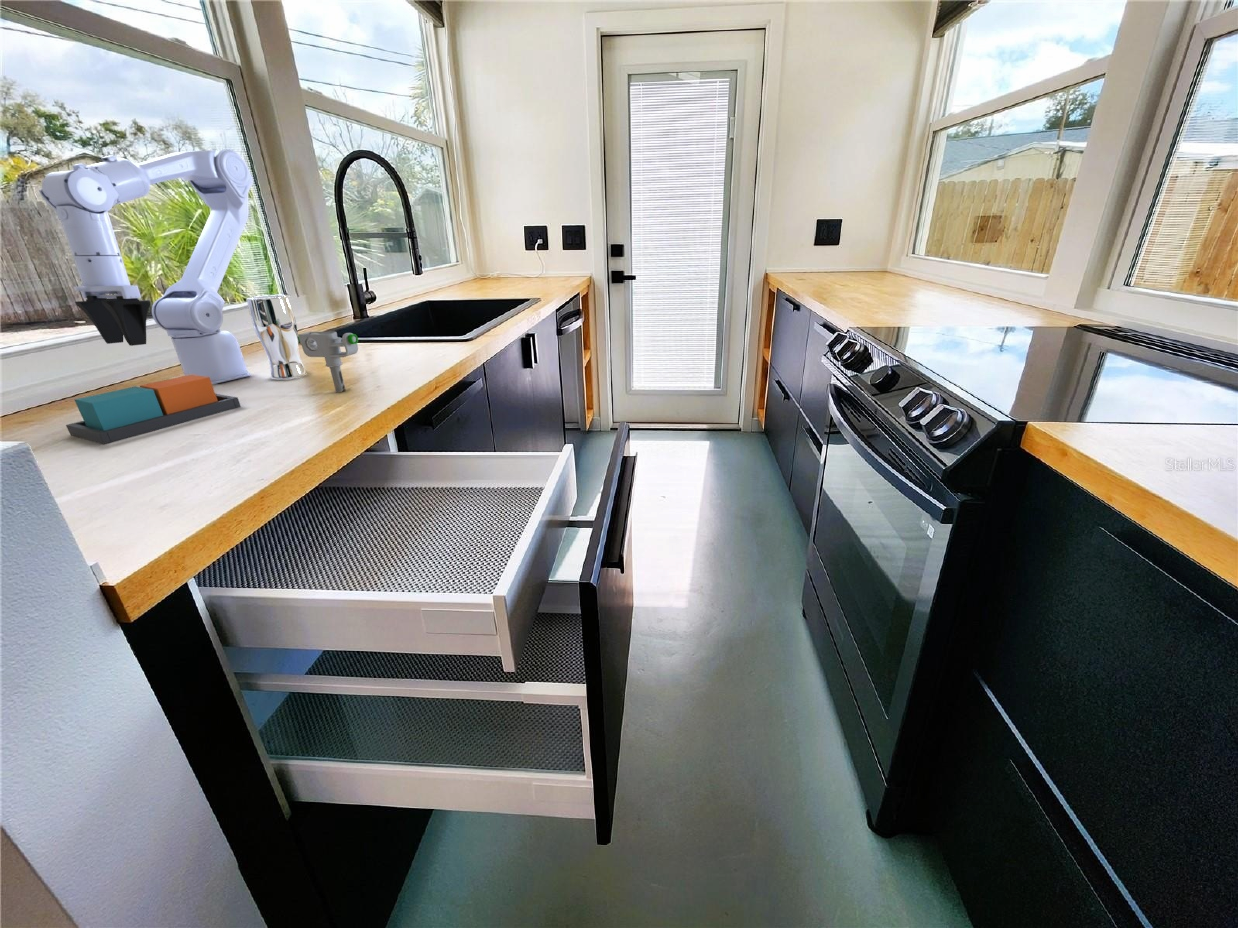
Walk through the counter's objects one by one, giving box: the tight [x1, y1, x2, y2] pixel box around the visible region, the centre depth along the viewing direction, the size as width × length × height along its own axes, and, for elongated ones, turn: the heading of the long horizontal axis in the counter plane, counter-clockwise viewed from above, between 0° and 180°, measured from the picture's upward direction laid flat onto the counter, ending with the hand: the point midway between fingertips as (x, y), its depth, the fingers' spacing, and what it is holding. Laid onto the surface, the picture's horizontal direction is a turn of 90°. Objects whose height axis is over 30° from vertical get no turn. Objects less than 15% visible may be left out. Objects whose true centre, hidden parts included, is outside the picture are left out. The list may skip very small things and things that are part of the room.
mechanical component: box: [298, 331, 359, 394], centre depth 91 cm, size 3×10×10 cm, turn 78°
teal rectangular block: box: [74, 386, 163, 431], centre depth 75 cm, size 7×5×5 cm
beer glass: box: [246, 294, 308, 381], centre depth 101 cm, size 7×7×15 cm
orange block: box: [139, 375, 218, 415], centre depth 81 cm, size 7×5×5 cm
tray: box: [65, 393, 241, 446], centre depth 79 cm, size 18×10×2 cm, turn 153°
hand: (126, 344), depth 89 cm, fingers open, 7 cm apart
